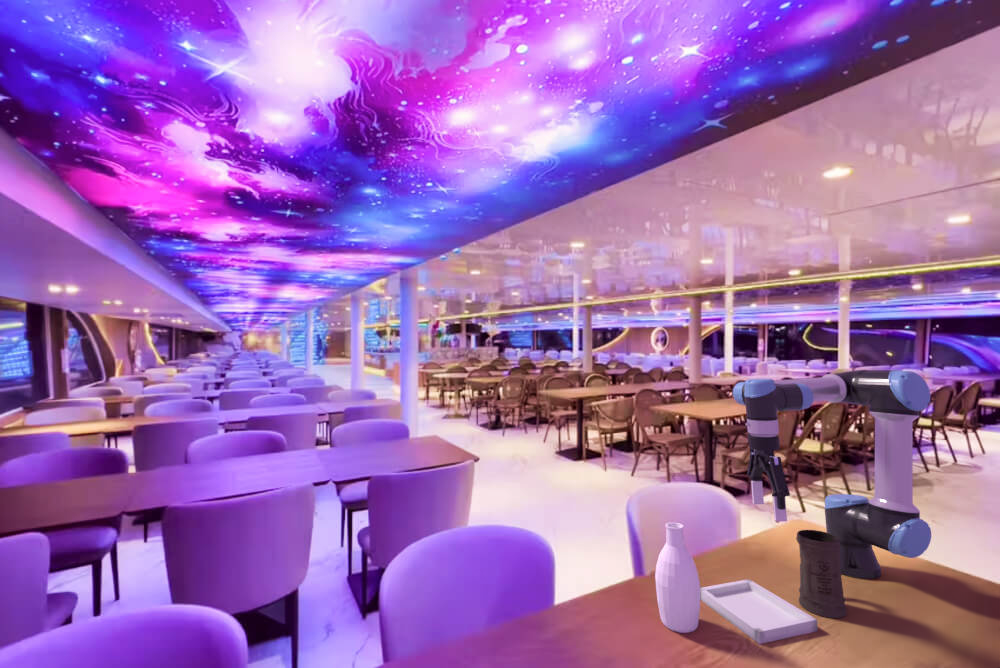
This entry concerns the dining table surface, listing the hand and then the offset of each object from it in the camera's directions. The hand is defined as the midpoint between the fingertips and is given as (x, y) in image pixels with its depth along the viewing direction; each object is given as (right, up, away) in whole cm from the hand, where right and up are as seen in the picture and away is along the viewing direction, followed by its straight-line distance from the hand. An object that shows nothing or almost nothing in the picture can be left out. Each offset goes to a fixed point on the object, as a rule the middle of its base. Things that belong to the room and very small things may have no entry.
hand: (769, 512), depth 124 cm
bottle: (-27, -28, -5) cm, 39 cm away
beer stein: (+15, -27, +2) cm, 31 cm away
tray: (-5, -27, -2) cm, 27 cm away
